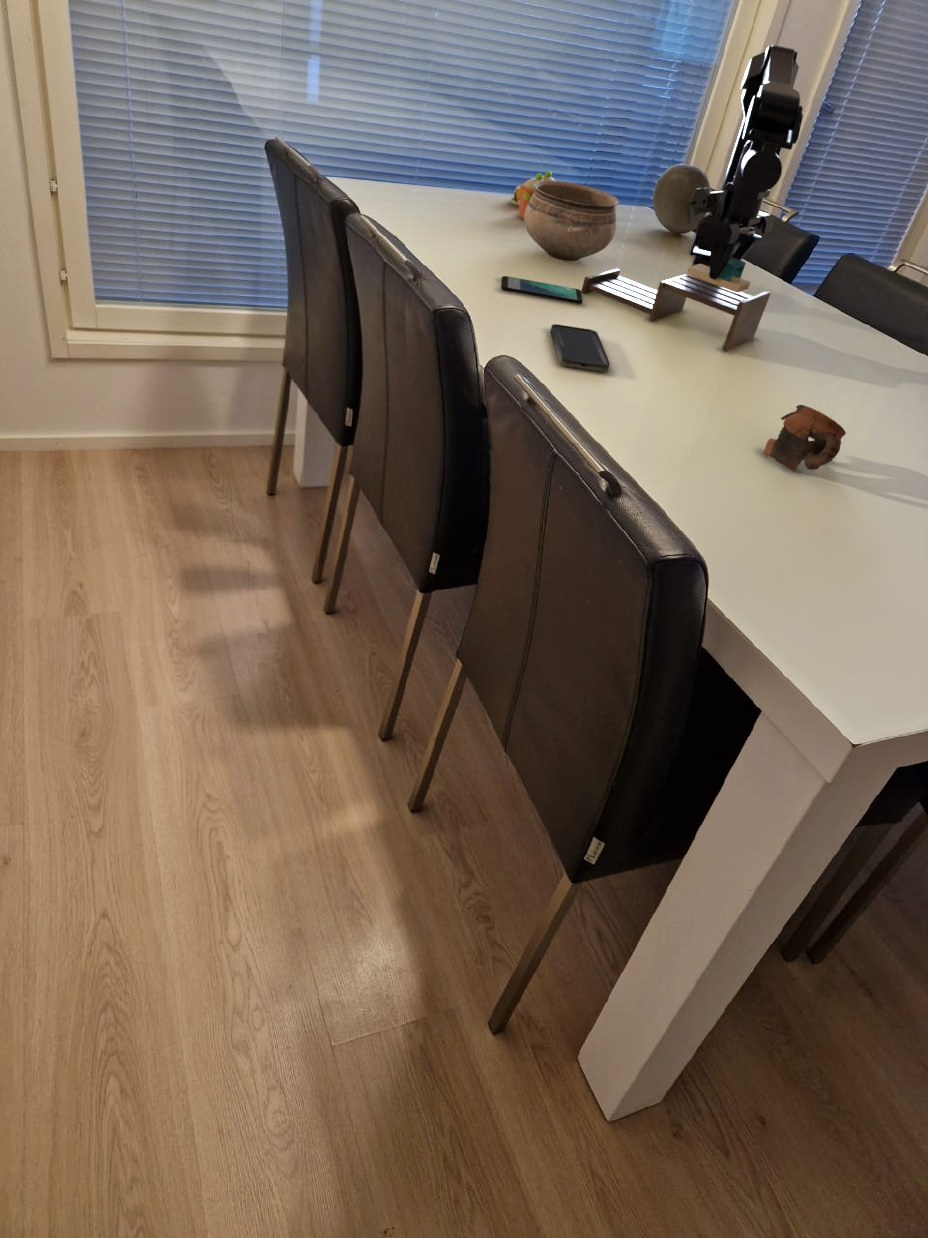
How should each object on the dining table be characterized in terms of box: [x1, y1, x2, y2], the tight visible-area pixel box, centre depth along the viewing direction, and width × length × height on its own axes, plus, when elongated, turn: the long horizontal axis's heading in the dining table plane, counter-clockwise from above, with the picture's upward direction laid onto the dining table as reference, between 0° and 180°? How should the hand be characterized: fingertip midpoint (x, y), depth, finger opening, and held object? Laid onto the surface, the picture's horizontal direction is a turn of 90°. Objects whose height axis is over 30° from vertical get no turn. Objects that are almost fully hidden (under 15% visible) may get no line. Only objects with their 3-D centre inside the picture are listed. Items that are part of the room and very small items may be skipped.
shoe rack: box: [580, 268, 771, 353], centre depth 158 cm, size 12×31×8 cm, turn 51°
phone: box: [549, 323, 611, 373], centre depth 138 cm, size 8×1×15 cm
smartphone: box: [500, 275, 584, 305], centre depth 159 cm, size 7×1×15 cm
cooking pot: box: [523, 180, 620, 262], centre depth 177 cm, size 25×19×12 cm
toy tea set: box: [510, 170, 556, 220], centre depth 204 cm, size 26×16×10 cm, turn 7°
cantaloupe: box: [652, 163, 712, 235], centre depth 209 cm, size 14×14×15 cm
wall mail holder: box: [686, 257, 751, 293], centre depth 151 cm, size 5×10×4 cm, turn 51°
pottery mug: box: [762, 404, 847, 472], centre depth 118 cm, size 12×10×8 cm
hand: (718, 276), depth 152 cm, fingers closed on wall mail holder, 5 cm apart
